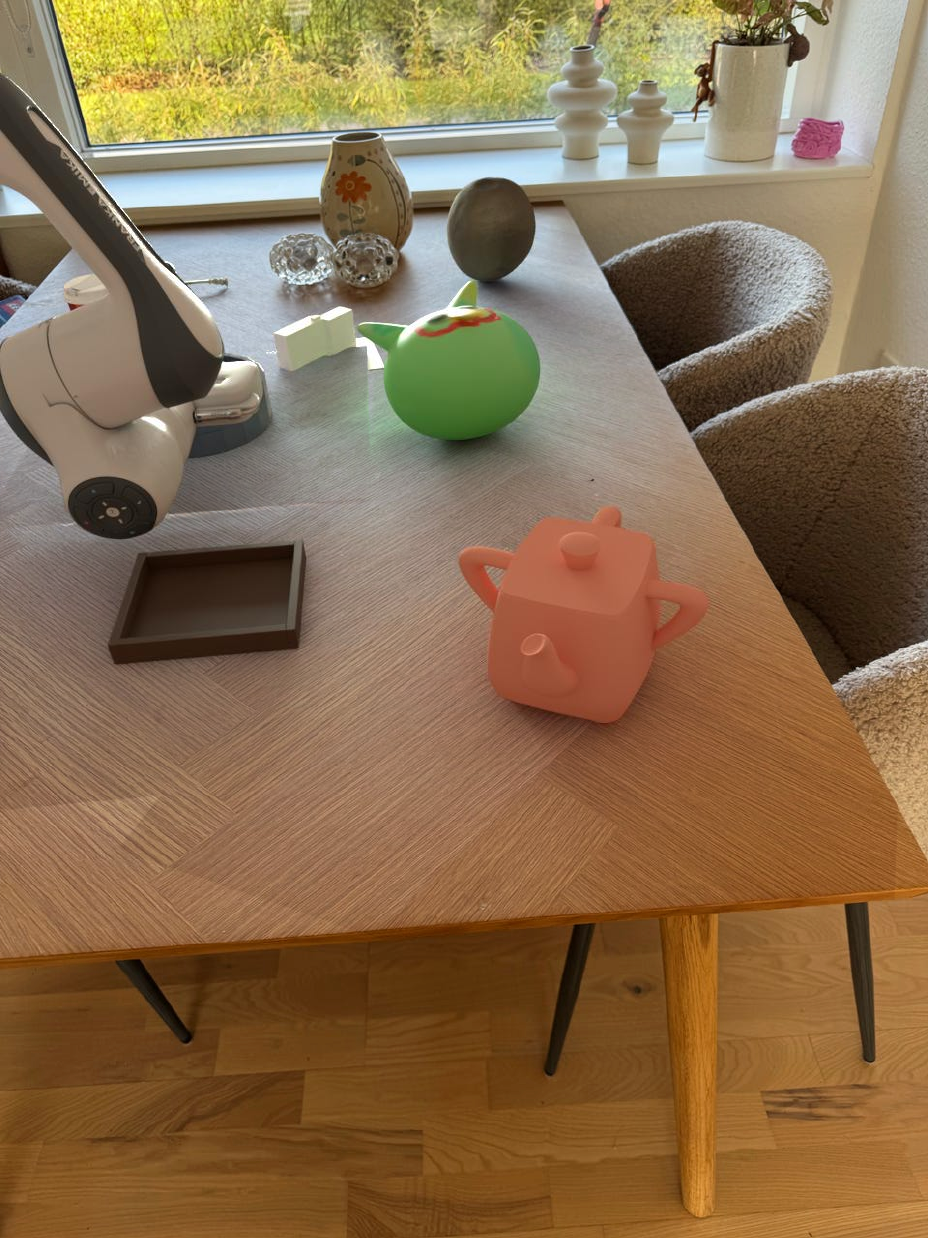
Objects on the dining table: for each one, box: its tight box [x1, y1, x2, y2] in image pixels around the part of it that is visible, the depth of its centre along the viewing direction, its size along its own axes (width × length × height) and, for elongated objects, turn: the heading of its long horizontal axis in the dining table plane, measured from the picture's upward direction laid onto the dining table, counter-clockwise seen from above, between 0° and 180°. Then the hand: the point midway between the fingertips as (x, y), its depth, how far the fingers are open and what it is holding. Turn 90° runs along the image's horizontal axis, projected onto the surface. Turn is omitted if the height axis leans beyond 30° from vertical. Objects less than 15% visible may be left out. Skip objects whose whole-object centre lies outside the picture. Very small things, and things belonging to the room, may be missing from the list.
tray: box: [107, 539, 307, 665], centre depth 83 cm, size 16×14×2 cm
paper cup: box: [62, 273, 109, 312], centre depth 117 cm, size 8×8×14 cm
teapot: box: [457, 505, 710, 724], centre depth 70 cm, size 17×16×13 cm
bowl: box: [188, 352, 273, 458], centre depth 110 cm, size 17×17×6 cm
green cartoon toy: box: [356, 280, 541, 441], centre depth 104 cm, size 18×17×15 cm
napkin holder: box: [266, 306, 385, 372], centre depth 124 cm, size 15×11×6 cm
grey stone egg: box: [446, 176, 537, 282], centre depth 142 cm, size 14×14×15 cm
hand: (171, 363), depth 99 cm, fingers open, 8 cm apart
